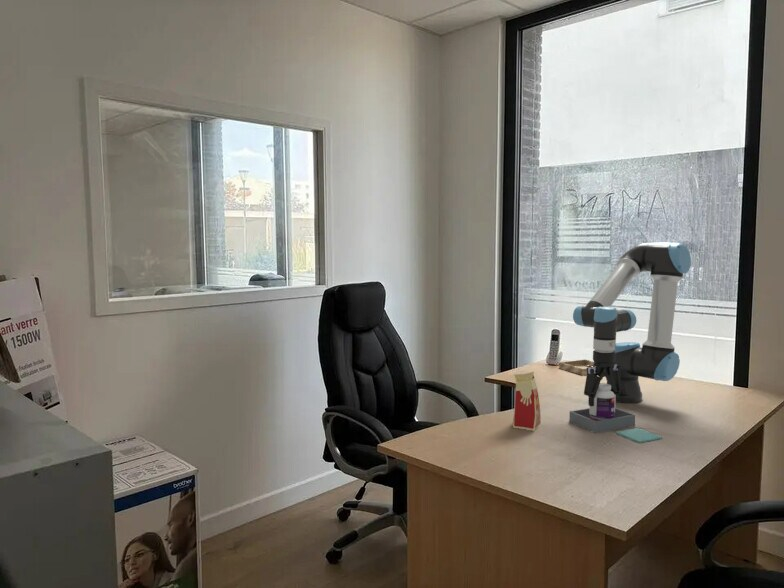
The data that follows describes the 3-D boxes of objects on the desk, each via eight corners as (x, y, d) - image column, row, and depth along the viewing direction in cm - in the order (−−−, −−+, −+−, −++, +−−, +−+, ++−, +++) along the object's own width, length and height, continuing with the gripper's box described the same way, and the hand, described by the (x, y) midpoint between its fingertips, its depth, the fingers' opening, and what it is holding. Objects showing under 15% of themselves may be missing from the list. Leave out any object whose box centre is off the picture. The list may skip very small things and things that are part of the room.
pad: (616, 433, 201) (616, 432, 201) (638, 429, 205) (638, 427, 205) (639, 443, 192) (639, 441, 192) (661, 438, 196) (661, 436, 196)
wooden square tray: (559, 368, 297) (559, 362, 297) (585, 365, 304) (585, 359, 304) (582, 375, 282) (582, 369, 281) (609, 372, 289) (609, 366, 288)
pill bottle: (615, 428, 206) (617, 388, 205) (591, 426, 208) (592, 387, 206) (611, 421, 214) (613, 382, 213) (588, 419, 216) (589, 381, 214)
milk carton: (540, 423, 212) (541, 369, 210) (535, 431, 204) (536, 374, 202) (515, 420, 216) (516, 366, 214) (509, 427, 207) (510, 372, 205)
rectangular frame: (569, 422, 213) (569, 411, 213) (607, 415, 221) (608, 405, 220) (595, 433, 201) (595, 421, 201) (635, 425, 209) (635, 414, 208)
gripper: (588, 355, 201) (586, 419, 203) (634, 349, 209) (632, 412, 211) (573, 351, 207) (572, 413, 210) (618, 346, 216) (616, 406, 218)
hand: (602, 412), depth 211 cm, fingers closed on pill bottle, 8 cm apart
